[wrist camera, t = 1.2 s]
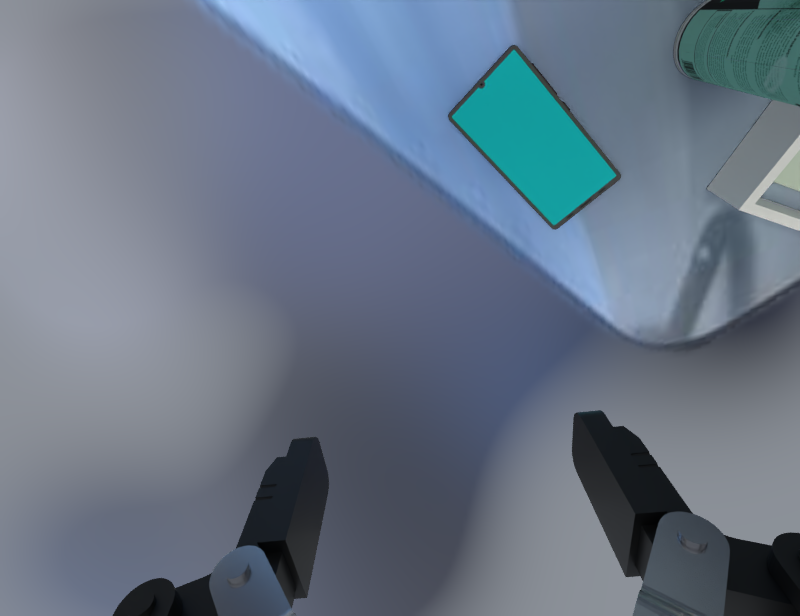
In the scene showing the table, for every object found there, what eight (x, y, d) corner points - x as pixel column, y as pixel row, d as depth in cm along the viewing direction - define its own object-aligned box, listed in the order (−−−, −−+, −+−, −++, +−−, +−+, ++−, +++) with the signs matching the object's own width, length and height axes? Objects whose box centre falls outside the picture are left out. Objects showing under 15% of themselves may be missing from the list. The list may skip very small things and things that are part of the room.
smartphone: (554, 231, 41) (446, 117, 36) (552, 227, 42) (446, 115, 37) (623, 176, 38) (515, 41, 33) (620, 173, 38) (513, 41, 33)
